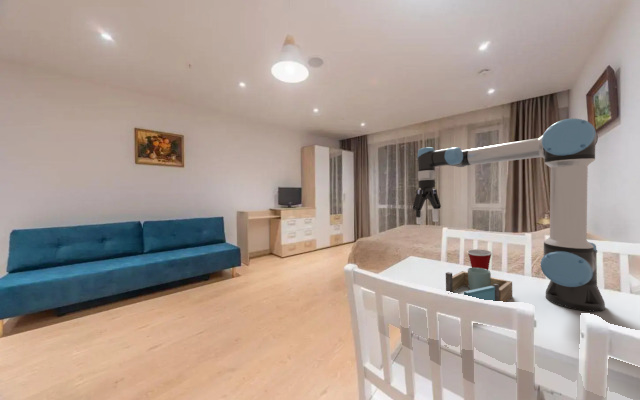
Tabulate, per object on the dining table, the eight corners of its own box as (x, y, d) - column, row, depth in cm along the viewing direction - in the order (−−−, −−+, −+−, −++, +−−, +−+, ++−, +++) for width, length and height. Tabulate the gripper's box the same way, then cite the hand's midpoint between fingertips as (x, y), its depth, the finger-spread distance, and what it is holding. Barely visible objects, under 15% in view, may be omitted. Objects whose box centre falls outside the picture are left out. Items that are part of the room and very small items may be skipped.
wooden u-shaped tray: (512, 296, 96) (512, 275, 96) (499, 308, 87) (498, 285, 87) (461, 283, 111) (461, 265, 111) (446, 292, 102) (445, 273, 102)
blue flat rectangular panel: (491, 305, 89) (491, 285, 89) (495, 306, 88) (495, 287, 88) (464, 312, 85) (463, 291, 84) (467, 313, 83) (467, 293, 83)
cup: (494, 298, 95) (494, 273, 95) (472, 297, 96) (472, 273, 96) (485, 291, 102) (485, 267, 102) (465, 290, 104) (464, 267, 104)
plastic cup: (462, 272, 127) (461, 249, 126) (479, 270, 129) (479, 248, 128) (479, 279, 116) (478, 254, 116) (498, 277, 118) (497, 252, 118)
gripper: (433, 180, 129) (434, 220, 129) (404, 180, 115) (405, 224, 115) (447, 179, 123) (448, 221, 123) (418, 178, 109) (419, 225, 109)
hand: (427, 222), depth 119 cm, fingers open, 13 cm apart
